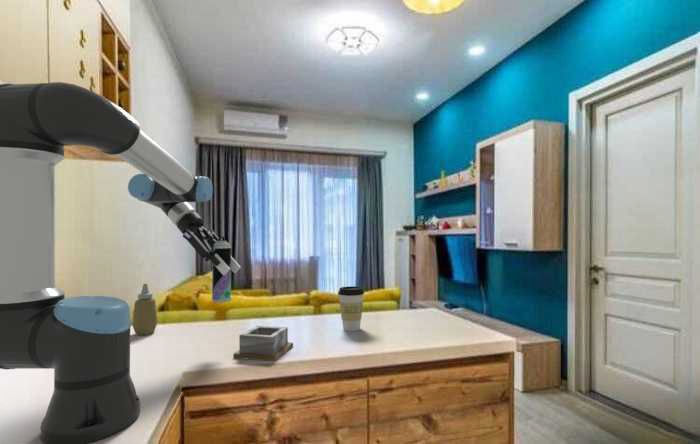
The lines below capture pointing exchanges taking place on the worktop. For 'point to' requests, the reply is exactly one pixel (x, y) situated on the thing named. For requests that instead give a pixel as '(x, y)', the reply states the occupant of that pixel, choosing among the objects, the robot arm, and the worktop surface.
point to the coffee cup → (351, 307)
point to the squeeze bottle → (144, 313)
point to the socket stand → (263, 343)
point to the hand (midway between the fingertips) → (232, 270)
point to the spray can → (220, 281)
